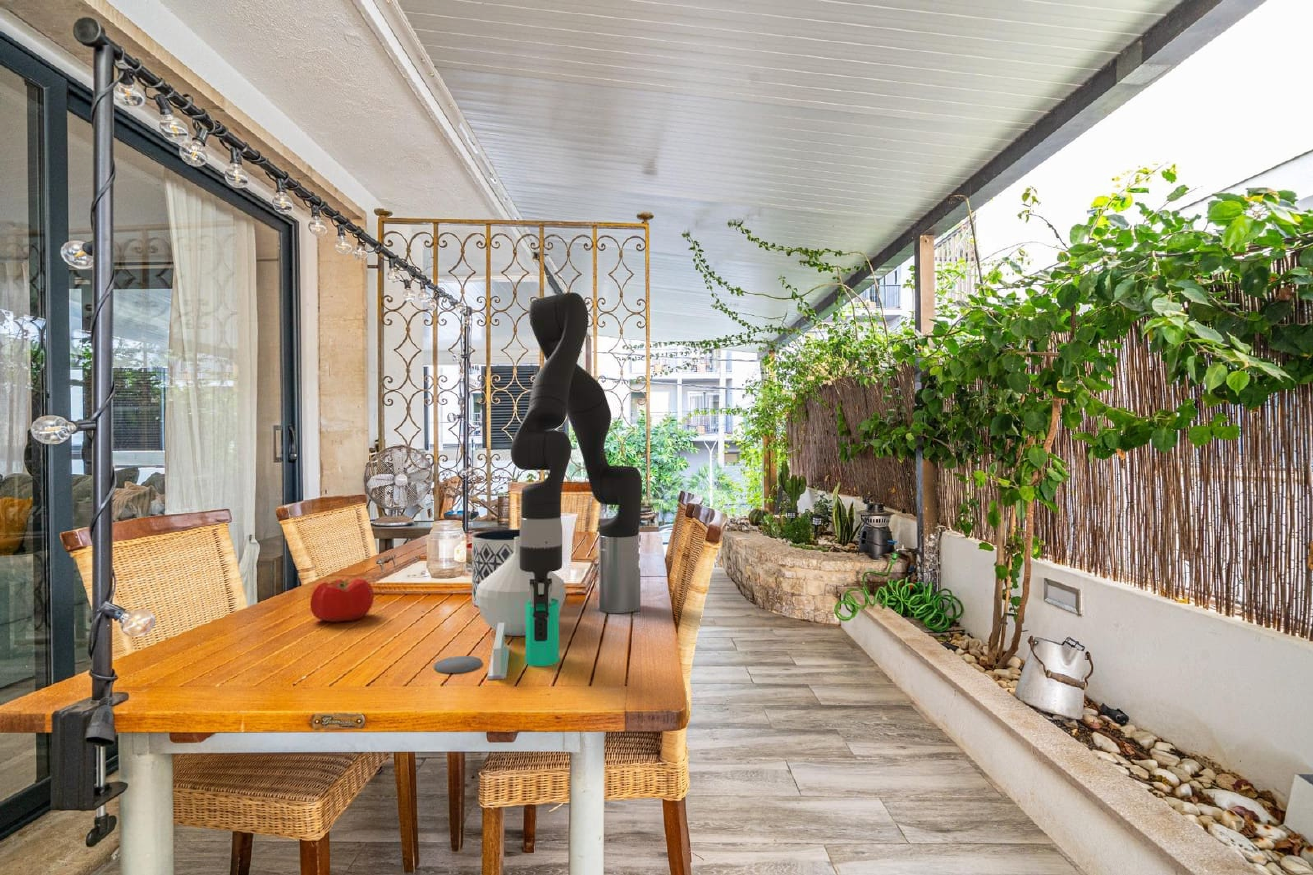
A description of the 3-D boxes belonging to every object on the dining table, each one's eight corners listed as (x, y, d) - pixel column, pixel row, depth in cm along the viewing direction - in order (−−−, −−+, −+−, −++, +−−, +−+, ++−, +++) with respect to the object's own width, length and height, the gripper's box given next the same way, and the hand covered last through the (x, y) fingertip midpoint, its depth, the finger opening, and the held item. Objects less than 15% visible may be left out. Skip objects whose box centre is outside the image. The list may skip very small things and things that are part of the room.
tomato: (377, 610, 157) (377, 573, 157) (369, 624, 145) (369, 584, 145) (317, 614, 154) (317, 576, 154) (304, 628, 142) (304, 588, 142)
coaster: (483, 657, 123) (483, 654, 123) (480, 672, 115) (480, 669, 115) (437, 659, 122) (437, 657, 122) (430, 675, 114) (430, 672, 114)
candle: (562, 656, 124) (562, 590, 124) (554, 666, 118) (554, 597, 118) (530, 655, 124) (530, 589, 124) (521, 665, 118) (520, 597, 118)
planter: (513, 590, 178) (513, 527, 178) (564, 599, 167) (564, 533, 167) (456, 604, 163) (456, 535, 163) (507, 615, 152) (507, 542, 152)
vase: (457, 637, 135) (457, 541, 135) (507, 614, 153) (507, 529, 153) (537, 646, 129) (537, 546, 129) (581, 622, 146) (580, 533, 146)
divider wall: (509, 648, 128) (509, 622, 128) (506, 678, 112) (506, 648, 112) (493, 649, 127) (493, 623, 127) (487, 679, 111) (487, 649, 111)
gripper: (563, 548, 115) (563, 644, 114) (560, 537, 129) (560, 622, 128) (518, 549, 113) (518, 646, 113) (520, 537, 127) (520, 624, 127)
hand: (540, 633), depth 121 cm, fingers open, 8 cm apart
